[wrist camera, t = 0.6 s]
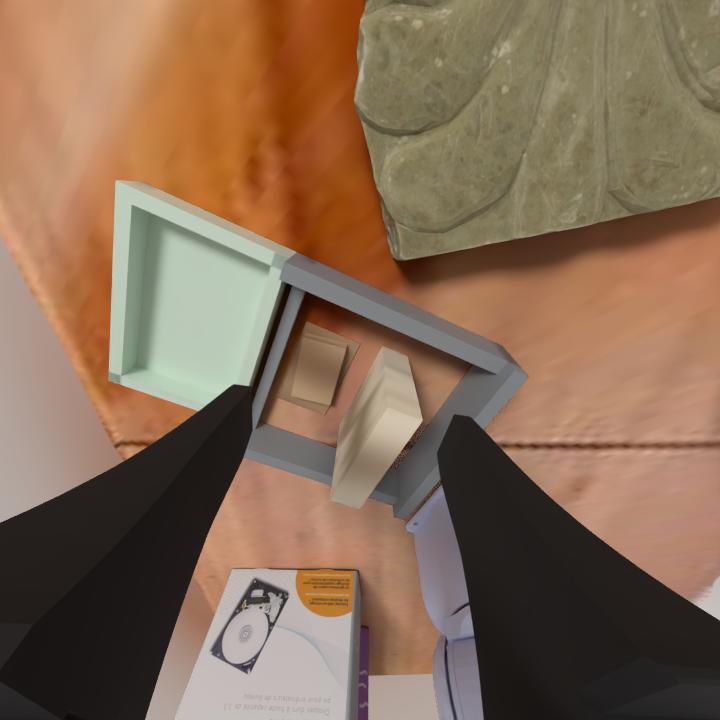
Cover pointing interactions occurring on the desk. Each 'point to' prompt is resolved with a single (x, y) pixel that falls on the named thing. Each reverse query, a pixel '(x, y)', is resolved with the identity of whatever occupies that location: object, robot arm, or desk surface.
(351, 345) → the offcut
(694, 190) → the decorative tile
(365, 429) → the panel
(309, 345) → the offcut
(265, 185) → the desk surface
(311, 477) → the grey shallow square frame
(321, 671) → the hard drive box
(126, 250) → the tray
